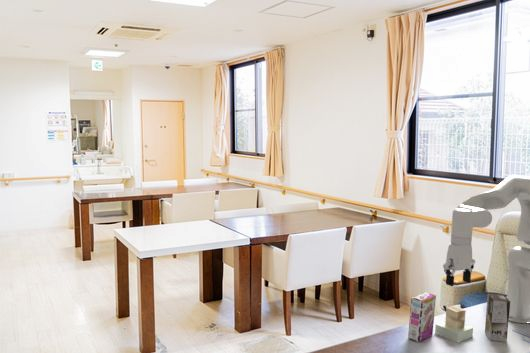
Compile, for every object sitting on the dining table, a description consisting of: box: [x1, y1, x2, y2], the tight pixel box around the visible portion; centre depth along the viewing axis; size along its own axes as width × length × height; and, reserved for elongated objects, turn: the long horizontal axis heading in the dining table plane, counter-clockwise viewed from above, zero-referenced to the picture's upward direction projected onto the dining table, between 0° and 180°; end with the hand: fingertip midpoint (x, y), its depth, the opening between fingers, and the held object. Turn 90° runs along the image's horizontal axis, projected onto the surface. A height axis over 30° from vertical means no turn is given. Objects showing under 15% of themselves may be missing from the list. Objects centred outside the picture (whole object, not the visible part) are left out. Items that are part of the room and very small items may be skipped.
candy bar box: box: [407, 291, 437, 343], centre depth 192 cm, size 11×5×16 cm, turn 134°
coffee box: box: [484, 293, 510, 343], centre depth 195 cm, size 9×6×16 cm
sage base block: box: [434, 320, 474, 343], centre depth 196 cm, size 10×10×4 cm
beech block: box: [445, 305, 467, 330], centre depth 196 cm, size 5×5×7 cm
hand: (458, 283), depth 195 cm, fingers open, 9 cm apart
